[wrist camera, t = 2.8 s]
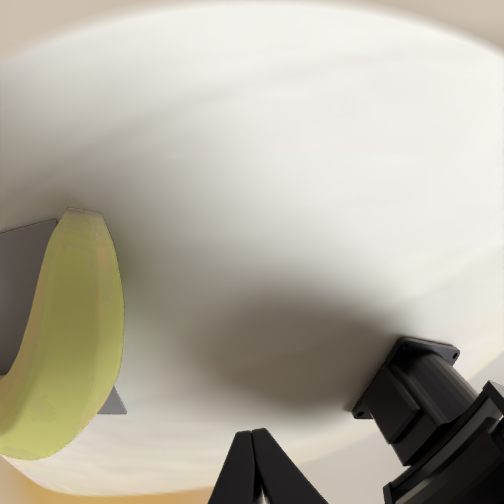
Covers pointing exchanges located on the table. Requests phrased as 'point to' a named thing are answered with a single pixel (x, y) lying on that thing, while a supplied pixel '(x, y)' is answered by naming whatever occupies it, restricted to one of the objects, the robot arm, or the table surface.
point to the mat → (26, 293)
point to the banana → (65, 342)
